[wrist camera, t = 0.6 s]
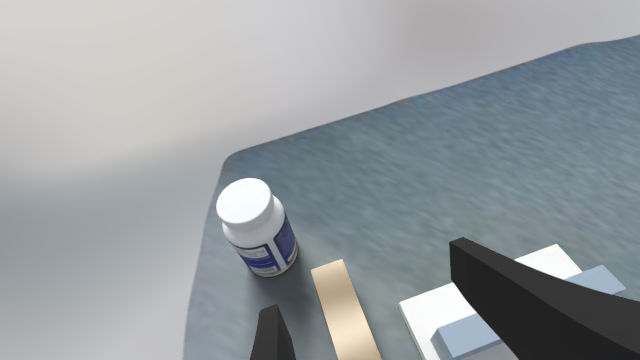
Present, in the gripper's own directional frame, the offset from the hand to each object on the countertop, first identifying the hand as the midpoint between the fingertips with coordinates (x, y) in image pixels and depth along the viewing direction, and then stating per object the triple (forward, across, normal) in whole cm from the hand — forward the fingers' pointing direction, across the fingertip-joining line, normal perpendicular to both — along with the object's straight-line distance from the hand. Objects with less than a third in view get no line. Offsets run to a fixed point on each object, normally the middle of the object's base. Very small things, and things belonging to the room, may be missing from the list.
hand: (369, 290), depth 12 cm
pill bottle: (+19, +5, +11) cm, 23 cm away
